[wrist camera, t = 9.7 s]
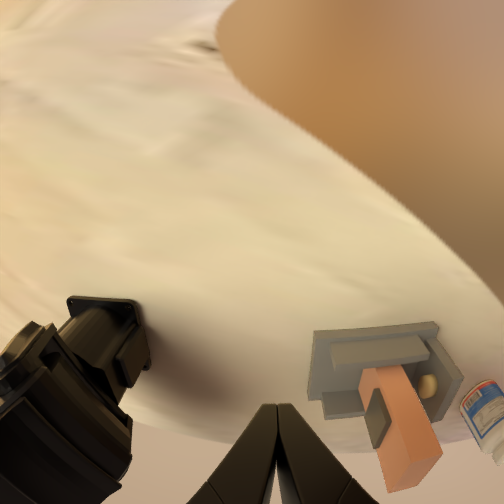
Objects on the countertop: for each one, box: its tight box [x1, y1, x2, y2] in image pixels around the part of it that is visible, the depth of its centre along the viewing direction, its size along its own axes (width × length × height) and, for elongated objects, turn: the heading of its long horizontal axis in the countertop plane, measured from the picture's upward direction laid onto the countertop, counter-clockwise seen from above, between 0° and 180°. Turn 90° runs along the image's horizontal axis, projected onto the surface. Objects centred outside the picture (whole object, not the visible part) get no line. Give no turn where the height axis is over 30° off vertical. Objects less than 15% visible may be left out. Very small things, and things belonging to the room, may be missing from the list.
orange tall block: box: [358, 364, 443, 493], centre depth 16 cm, size 2×4×10 cm, turn 1°
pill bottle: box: [460, 380, 504, 466], centre depth 19 cm, size 6×5×10 cm
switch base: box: [307, 321, 464, 423], centre depth 19 cm, size 10×6×6 cm, turn 91°
